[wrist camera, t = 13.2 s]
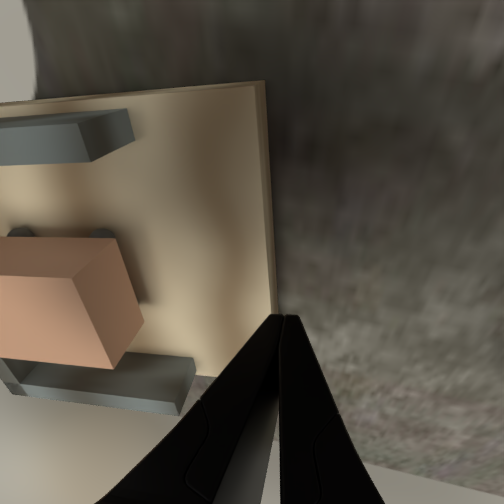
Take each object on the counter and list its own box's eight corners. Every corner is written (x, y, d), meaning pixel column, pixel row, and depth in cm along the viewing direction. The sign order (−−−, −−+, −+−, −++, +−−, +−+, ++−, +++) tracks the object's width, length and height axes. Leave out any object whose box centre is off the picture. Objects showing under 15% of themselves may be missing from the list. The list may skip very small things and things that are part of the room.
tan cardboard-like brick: (128, 223, 15) (70, 276, 12) (154, 307, 18) (114, 370, 14) (5, 223, 17) (-79, 269, 13) (47, 301, 19) (-14, 357, 16)
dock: (264, 79, 13) (234, 96, 9) (280, 350, 21) (269, 432, 17) (-46, 106, 16) (-189, 129, 12) (72, 333, 25) (15, 398, 20)
